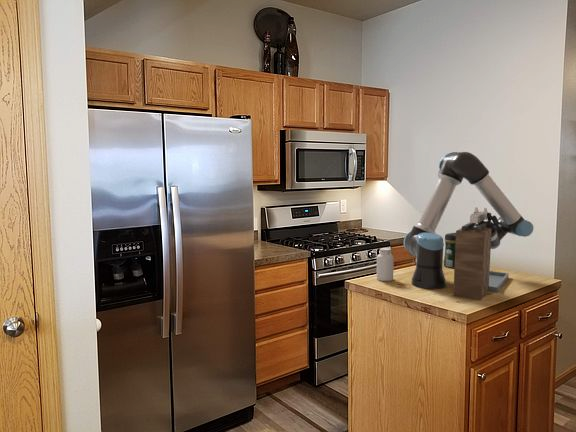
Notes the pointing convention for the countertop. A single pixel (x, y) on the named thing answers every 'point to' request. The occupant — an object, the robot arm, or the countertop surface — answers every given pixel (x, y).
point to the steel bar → (477, 217)
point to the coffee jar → (450, 250)
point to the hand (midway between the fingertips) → (480, 210)
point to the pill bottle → (385, 265)
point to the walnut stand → (472, 261)
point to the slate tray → (496, 280)
